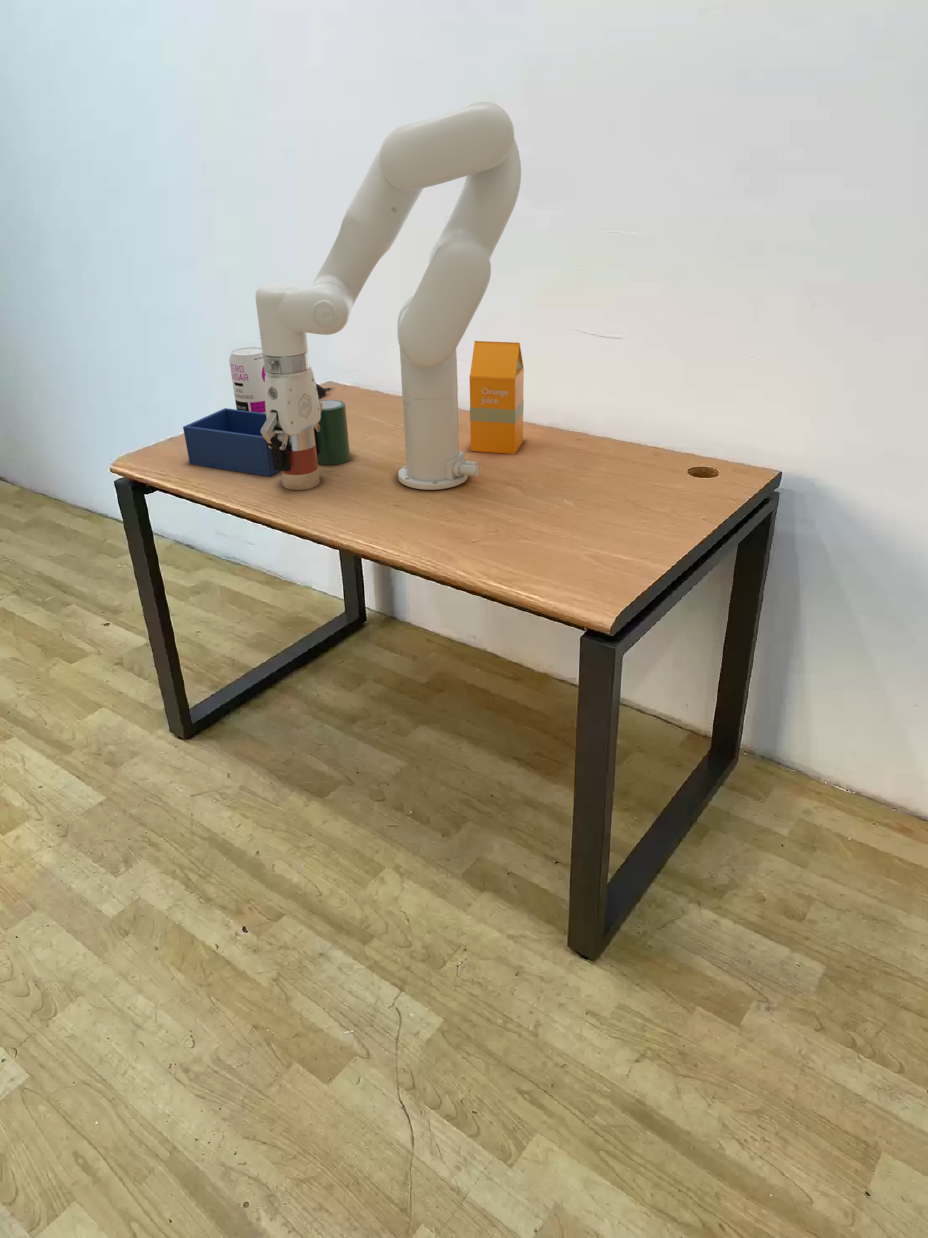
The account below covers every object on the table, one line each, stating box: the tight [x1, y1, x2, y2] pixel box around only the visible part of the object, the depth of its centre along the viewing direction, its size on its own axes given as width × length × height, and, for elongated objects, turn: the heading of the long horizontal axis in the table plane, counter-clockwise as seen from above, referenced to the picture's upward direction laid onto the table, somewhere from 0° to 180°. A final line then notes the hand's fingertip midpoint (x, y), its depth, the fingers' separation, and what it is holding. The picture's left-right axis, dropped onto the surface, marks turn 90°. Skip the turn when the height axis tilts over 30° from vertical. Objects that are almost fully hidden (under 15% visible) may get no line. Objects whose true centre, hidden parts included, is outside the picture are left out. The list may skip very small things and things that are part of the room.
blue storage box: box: [182, 407, 281, 478], centre depth 171 cm, size 19×13×7 cm
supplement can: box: [228, 346, 266, 413], centre depth 190 cm, size 8×8×15 cm
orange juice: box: [469, 340, 525, 455], centre depth 171 cm, size 8×9×20 cm
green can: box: [317, 399, 351, 466], centre depth 169 cm, size 7×7×11 cm
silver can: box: [277, 425, 321, 491], centre depth 159 cm, size 7×7×11 cm
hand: (297, 461), depth 159 cm, fingers open, 8 cm apart
